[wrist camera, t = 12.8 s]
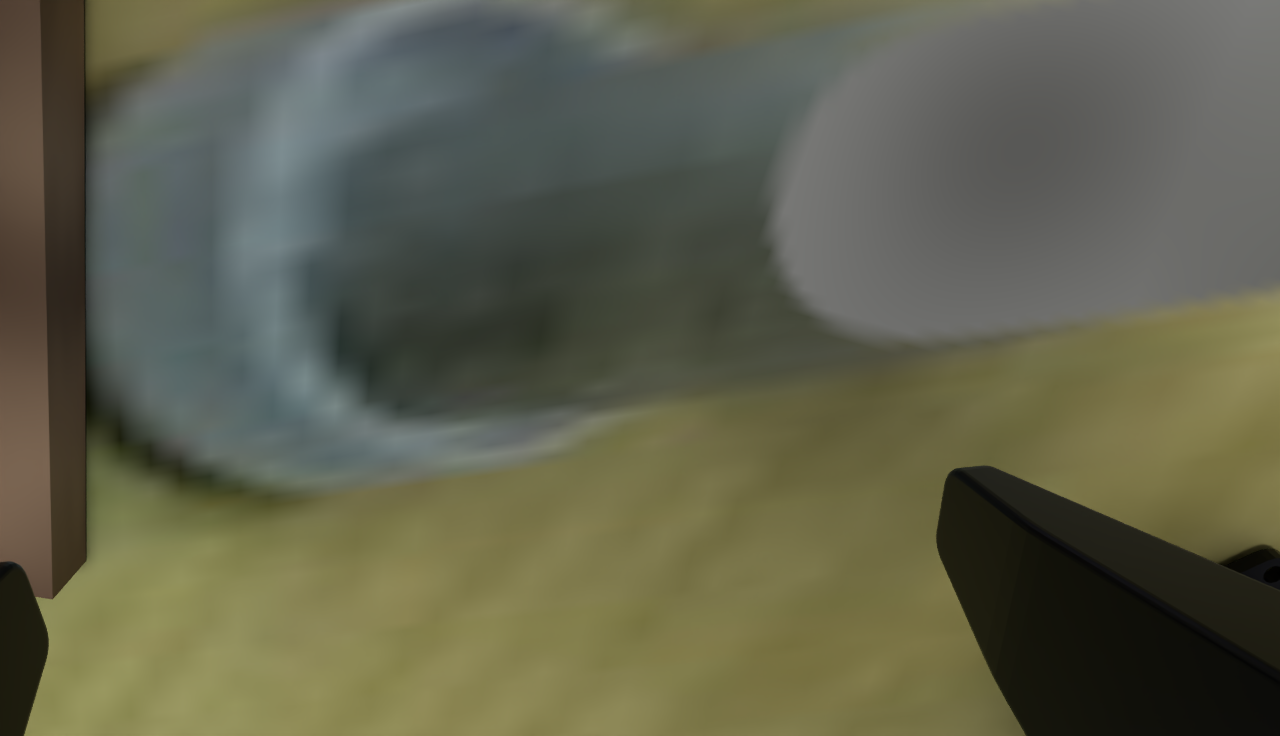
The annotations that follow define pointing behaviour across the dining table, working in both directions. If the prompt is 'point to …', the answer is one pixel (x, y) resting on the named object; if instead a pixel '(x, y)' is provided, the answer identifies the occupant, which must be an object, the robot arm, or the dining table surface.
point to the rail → (42, 291)
